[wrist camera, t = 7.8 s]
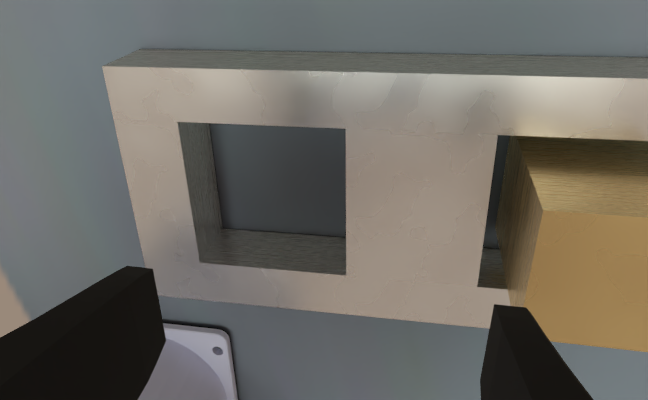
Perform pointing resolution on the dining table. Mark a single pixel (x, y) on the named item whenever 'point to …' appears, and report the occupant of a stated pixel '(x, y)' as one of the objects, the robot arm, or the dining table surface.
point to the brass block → (578, 237)
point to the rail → (353, 168)
